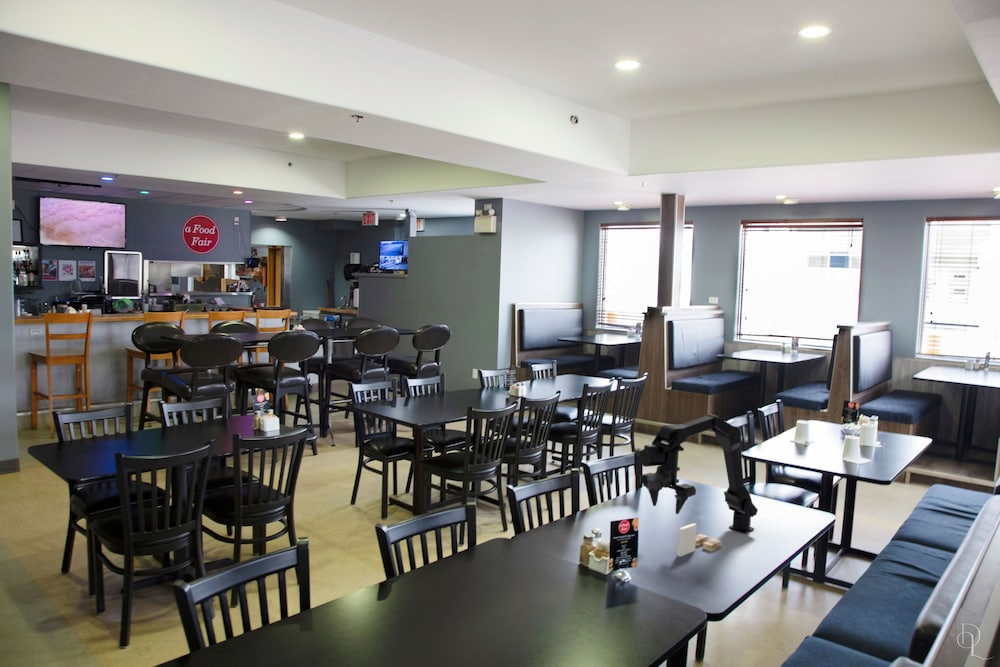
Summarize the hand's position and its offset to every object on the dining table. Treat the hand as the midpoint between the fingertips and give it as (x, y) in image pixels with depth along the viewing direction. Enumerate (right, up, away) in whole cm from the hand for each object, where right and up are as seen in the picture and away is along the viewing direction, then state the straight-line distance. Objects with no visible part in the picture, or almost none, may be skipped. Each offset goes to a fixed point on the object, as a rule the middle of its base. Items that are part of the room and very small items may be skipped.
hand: (665, 509), depth 229 cm
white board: (+5, -13, -6) cm, 15 cm away
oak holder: (+13, -12, 0) cm, 18 cm away
